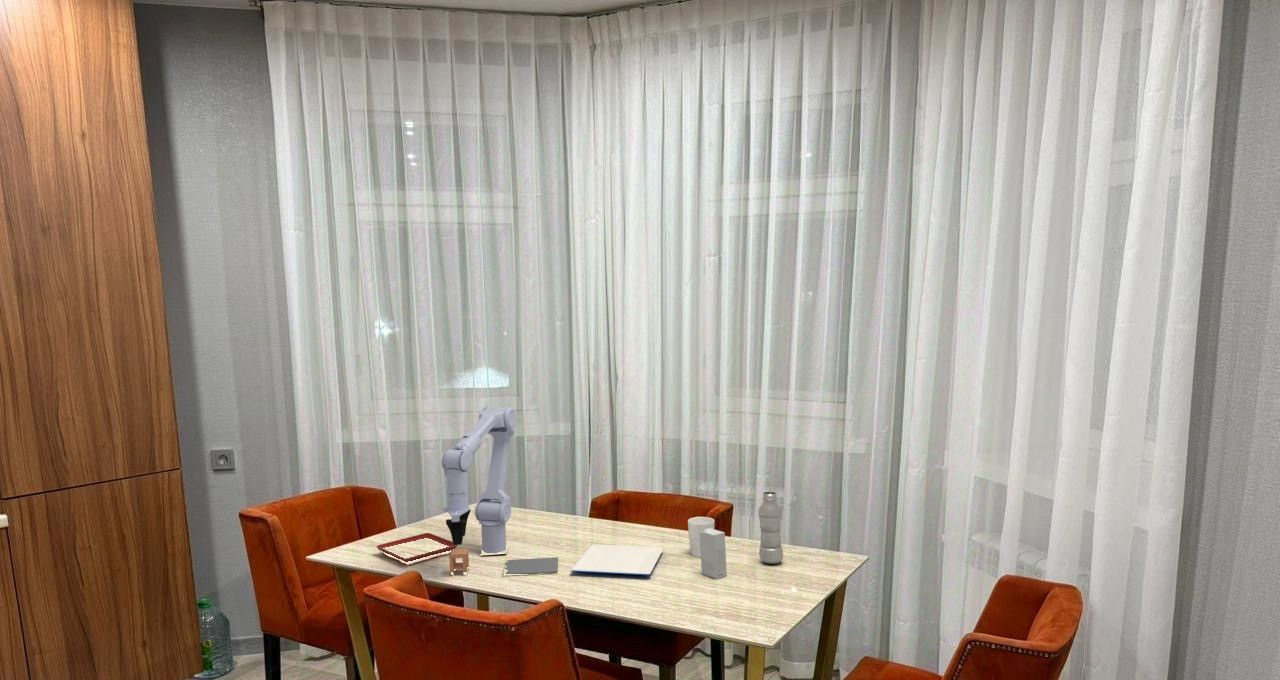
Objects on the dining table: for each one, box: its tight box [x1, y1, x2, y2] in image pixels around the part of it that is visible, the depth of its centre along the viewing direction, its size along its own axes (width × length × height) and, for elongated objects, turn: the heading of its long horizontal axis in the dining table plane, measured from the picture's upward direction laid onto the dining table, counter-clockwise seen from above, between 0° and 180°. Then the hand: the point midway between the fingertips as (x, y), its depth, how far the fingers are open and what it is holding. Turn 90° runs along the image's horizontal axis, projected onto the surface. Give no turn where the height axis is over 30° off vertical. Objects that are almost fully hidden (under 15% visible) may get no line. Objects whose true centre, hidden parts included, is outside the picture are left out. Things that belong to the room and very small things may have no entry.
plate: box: [570, 543, 665, 576], centre depth 215 cm, size 22×22×2 cm
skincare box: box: [700, 528, 728, 580], centre depth 204 cm, size 6×4×12 cm
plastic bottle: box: [757, 491, 784, 565], centre depth 213 cm, size 6×7×20 cm
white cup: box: [687, 516, 715, 558], centre depth 222 cm, size 8×8×10 cm
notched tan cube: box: [448, 548, 470, 573], centre depth 211 cm, size 5×5×6 cm
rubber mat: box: [504, 556, 559, 575], centre depth 214 cm, size 12×15×1 cm
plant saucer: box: [376, 532, 459, 562], centre depth 228 cm, size 18×18×3 cm
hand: (459, 540), depth 210 cm, fingers open, 7 cm apart
